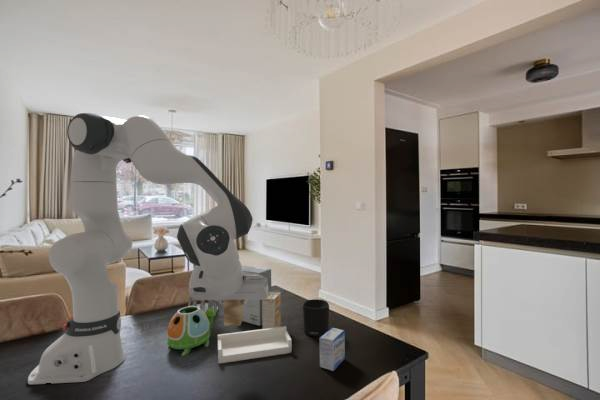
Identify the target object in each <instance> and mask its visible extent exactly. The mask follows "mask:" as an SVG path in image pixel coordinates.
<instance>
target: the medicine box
mask: <svg viewBox="0 0 600 400" xmlns="http://www.w3.org/2000/svg"><path fill="white" fill-rule="evenodd" d="M345 334H346V333H345V330H344V329H340V328H337V327H336V328H335V327H331V328H330V329H328V331H327V332H326V333H325V334H324V335H323V336H319V367H320V368H323V369H326V370H329V371H331V372H334V371H336V369H337V368H338V367H339V366H340V365H341V363H342V362H343V361H344V360H345V358H346V355H345V354H346V353H345V351H346V349H345V346H346V342H345V340H346V339H345Z"/></svg>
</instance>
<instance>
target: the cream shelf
mask: <svg viewBox="0 0 600 400" xmlns="http://www.w3.org/2000/svg"><path fill="white" fill-rule="evenodd" d="M292 346H293V344H292V338H291V336H290V334H289V332H288V331H287V326H286V325H284V326H281V327H275V328H267V329H263V328H261V329H253V330H245V331H243V330H242V331H236V332H229V333H228V332H227V333H219V334H217V360H218V361H217V364H225V363H231V362H239V361H245V360H250V359H251V360H252V359H258V358H265V357H272V356H279V355H286V354H290V353H291V354H292V352H293V351H292V349H293V347H292Z"/></svg>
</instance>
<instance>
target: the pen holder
mask: <svg viewBox="0 0 600 400" xmlns="http://www.w3.org/2000/svg"><path fill="white" fill-rule="evenodd" d="M302 317H303V318H302V319H303V321H302V322H303V331H304V333H305V334H306V335H307V336H310V337H319V338H320V337H321V336H323V335H324V334H325V333H326V332H327V331H329V319H330V318H329V317H330V305H329V302H328V301H327V300H323V299H318V298H317V299H315V298H314V299H307V300H305V301H304V303H303V305H302Z"/></svg>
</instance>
